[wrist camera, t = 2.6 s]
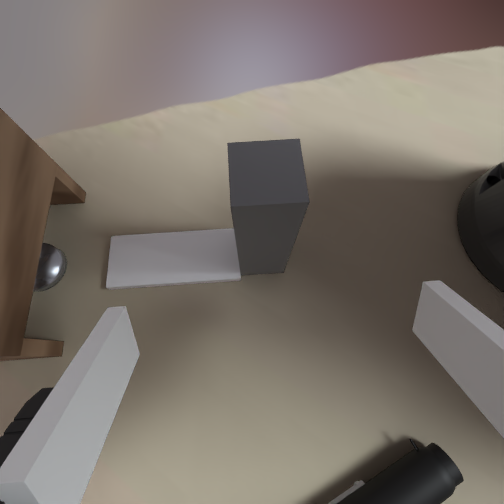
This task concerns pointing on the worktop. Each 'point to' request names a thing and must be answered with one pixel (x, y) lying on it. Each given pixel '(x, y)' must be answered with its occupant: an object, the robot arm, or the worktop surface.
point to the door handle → (408, 480)
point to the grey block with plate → (226, 240)
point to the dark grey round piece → (49, 267)
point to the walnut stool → (25, 233)
